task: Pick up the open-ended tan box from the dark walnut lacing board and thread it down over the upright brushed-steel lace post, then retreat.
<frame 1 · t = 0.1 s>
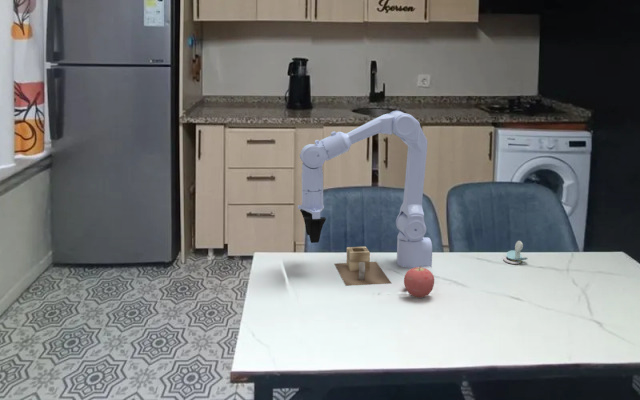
hand: (312, 238, 183), 10 cm above the table, fingers open, 7 cm apart
open-ended tan box: (357, 267, 186), point 1 cm above the table, touching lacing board
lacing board: (361, 278, 181), on the table
pacifier: (514, 262, 196), on the table
apple: (418, 297, 168), on the table
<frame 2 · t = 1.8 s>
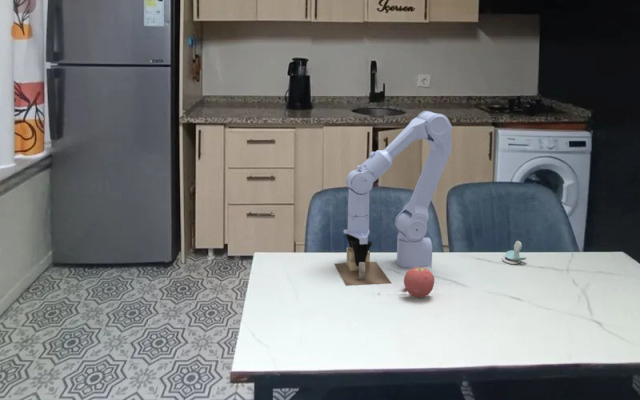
hand: (358, 262, 186), 3 cm above the table, fingers closed on open-ended tan box, 5 cm apart
open-ended tan box: (357, 267, 186), point 1 cm above the table, touching gripper, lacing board
everything else where it was.
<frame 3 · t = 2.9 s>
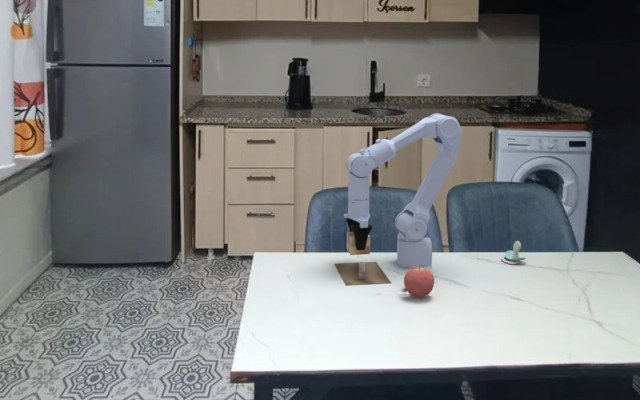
hand: (358, 246, 185), 7 cm above the table, fingers closed on open-ended tan box, 5 cm apart
open-ended tan box: (358, 251, 185), point 6 cm above the table, touching gripper
everything else where it was.
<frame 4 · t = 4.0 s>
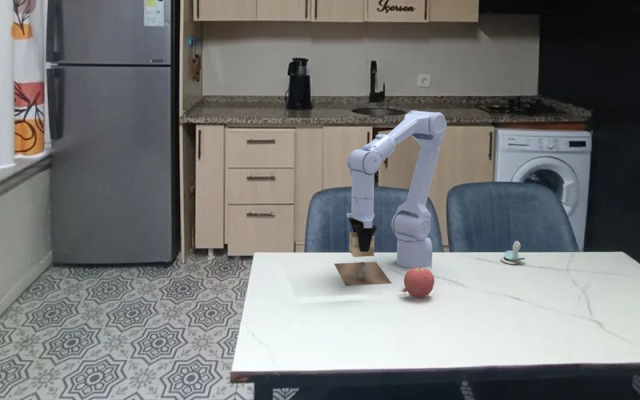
hand: (361, 248, 175), 10 cm above the table, fingers closed on open-ended tan box, 5 cm apart
open-ended tan box: (361, 253, 175), point 9 cm above the table, touching gripper
everything else where it was.
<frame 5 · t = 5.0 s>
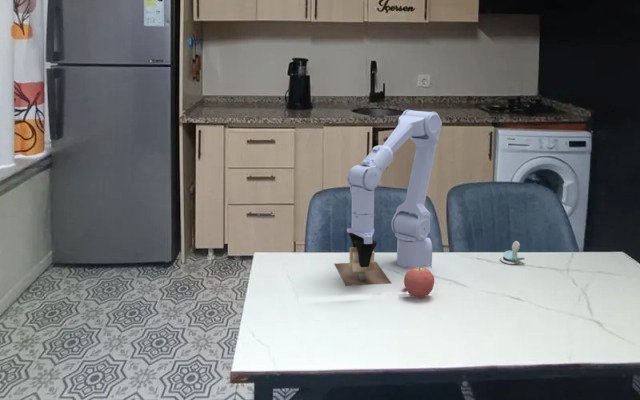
hand: (362, 263, 175), 6 cm above the table, fingers closed on open-ended tan box, 5 cm apart
open-ended tan box: (361, 268, 175), point 5 cm above the table, touching gripper
everything else where it was.
when the fingers open (4 cm above the table, at t = 6.1 s): open-ended tan box stays where it is, resting on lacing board.
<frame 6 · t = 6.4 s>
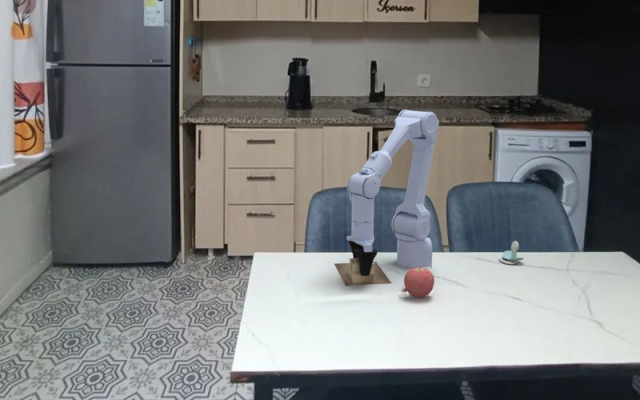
hand: (361, 270, 176), 4 cm above the table, fingers open, 7 cm apart
open-ended tan box: (361, 279, 176), point 1 cm above the table, touching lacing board
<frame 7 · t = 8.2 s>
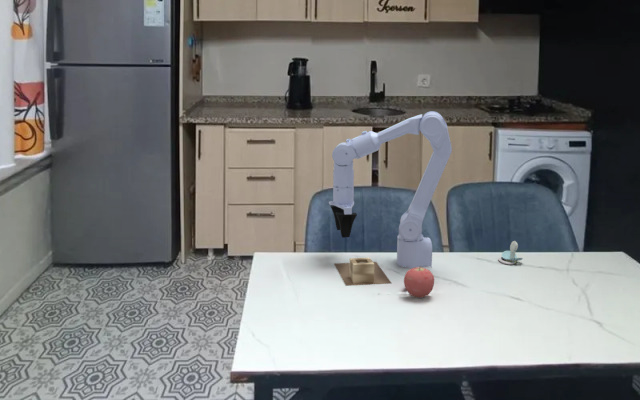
hand: (343, 233, 190), 9 cm above the table, fingers open, 7 cm apart
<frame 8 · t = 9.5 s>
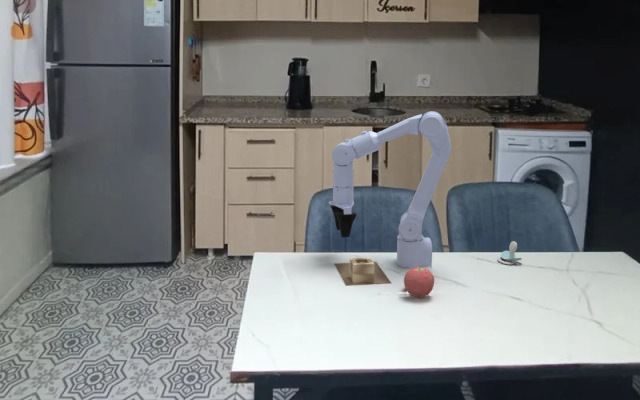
hand: (342, 233, 191), 9 cm above the table, fingers open, 7 cm apart
at the end: open-ended tan box 0.1 cm from the target spot on the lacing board, point 1.5 cm above the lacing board's base; open-ended tan box tilted 0°; the gripper is holding nothing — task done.
